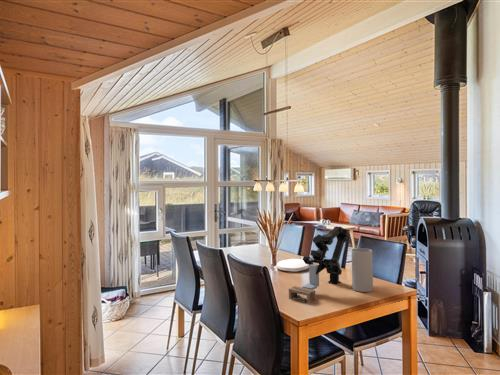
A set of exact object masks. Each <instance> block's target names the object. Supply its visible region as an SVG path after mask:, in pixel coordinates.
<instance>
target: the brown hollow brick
mask: <svg viewBox="0 0 500 375" xmlns="http://www.w3.org/2000/svg"><path fill="white" fill-rule="evenodd" d="M301 295H302V296H306V299H305V298H302V297H301ZM316 297H317V296H316V290H315V289H314V290H311V289H307V288H302V287H301V286H297V285H294V286H292V287H290V288H288V299H292V300H295V301H299V302H303V303H306V304H311V303H312V302H314V301H316Z"/></svg>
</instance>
